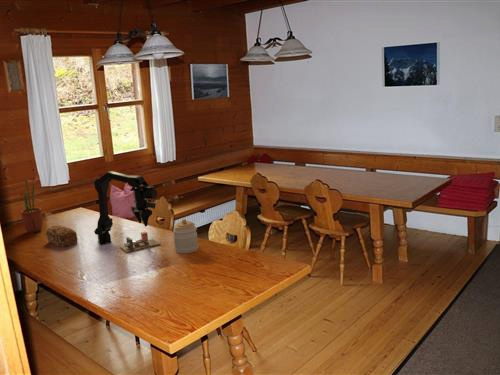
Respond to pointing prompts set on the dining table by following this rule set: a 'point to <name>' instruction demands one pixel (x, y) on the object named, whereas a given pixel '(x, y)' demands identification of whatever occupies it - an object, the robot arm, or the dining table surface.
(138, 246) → the latch board
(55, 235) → the bread
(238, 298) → the dining table surface
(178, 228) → the jar
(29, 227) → the potted plant
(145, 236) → the bolt
